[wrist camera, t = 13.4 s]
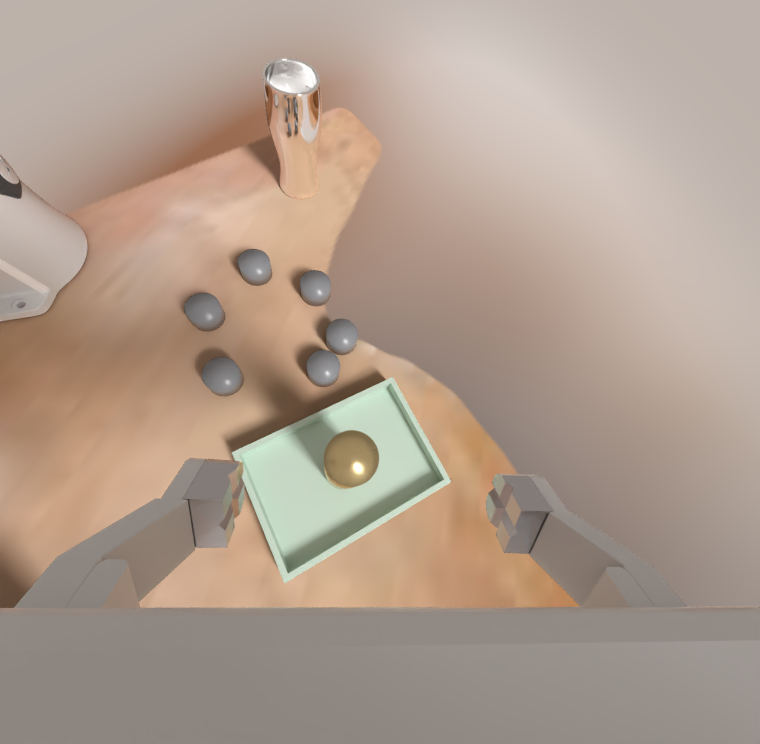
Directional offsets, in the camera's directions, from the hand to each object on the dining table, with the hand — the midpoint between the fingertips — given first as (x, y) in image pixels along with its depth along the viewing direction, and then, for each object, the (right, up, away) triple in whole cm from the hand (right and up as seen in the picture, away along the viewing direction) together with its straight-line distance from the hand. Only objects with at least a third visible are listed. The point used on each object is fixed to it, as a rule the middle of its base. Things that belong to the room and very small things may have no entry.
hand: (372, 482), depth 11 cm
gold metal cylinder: (-4, -8, +28) cm, 29 cm away
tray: (-4, -8, +29) cm, 30 cm away
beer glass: (-12, +33, +43) cm, 55 cm away
